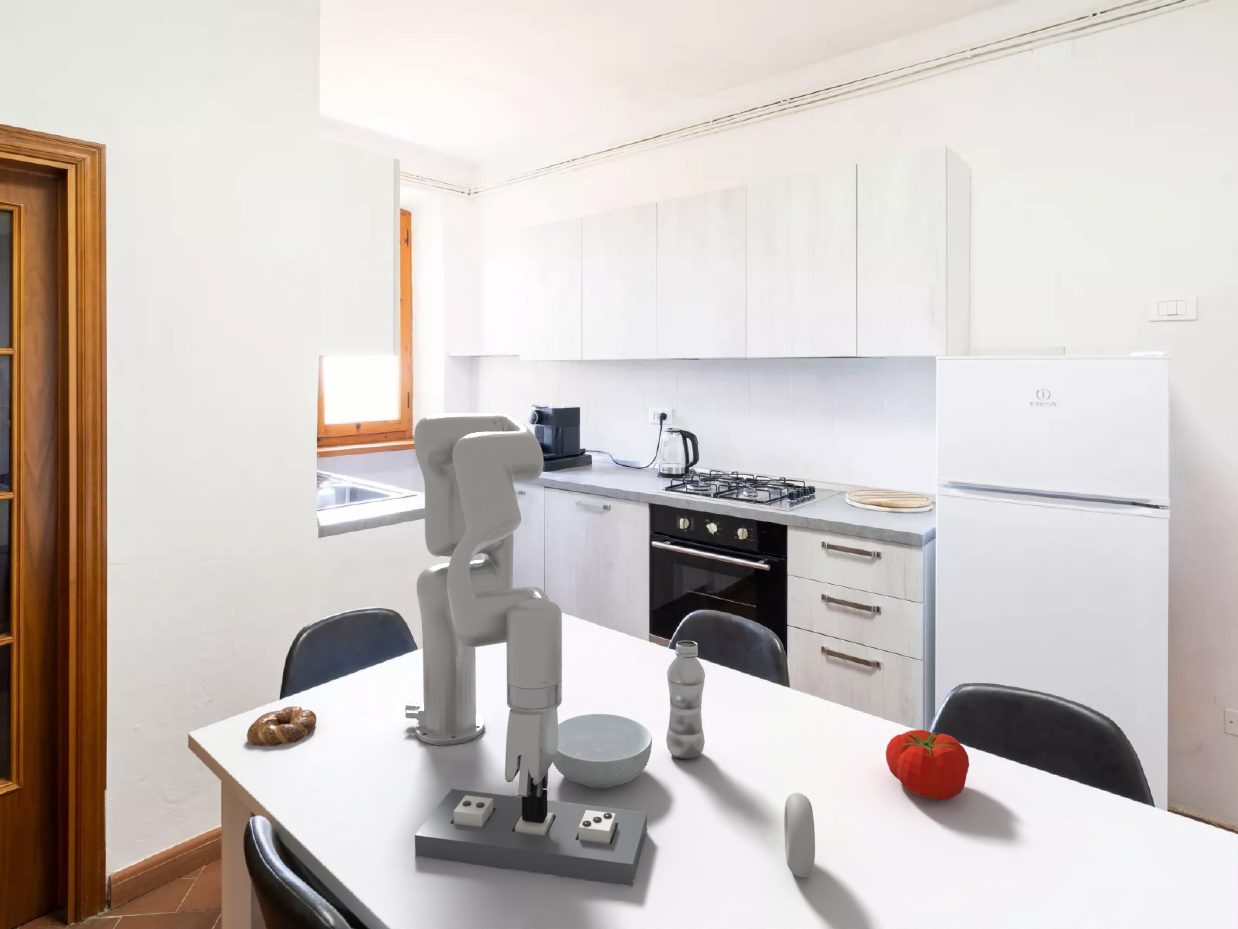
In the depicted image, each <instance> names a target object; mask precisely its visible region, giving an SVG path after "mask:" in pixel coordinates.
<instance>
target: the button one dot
mask: <svg viewBox="0 0 1238 929" xmlns="http://www.w3.org/2000/svg"><path fill="white" fill-rule="evenodd" d="M552 824H553V813H549V812H547V817H546V818H545V821H544V822H543V823H536V822H528V821H523V820H522V815H521V817H520V819H519V821H518V822H517V824H516V826H515V832H520V833H527V834H535V835H543V836H547V834H548V832H549V830H550V828H551V826H552Z"/></svg>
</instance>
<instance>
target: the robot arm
mask: <svg viewBox="0 0 1238 929" xmlns="http://www.w3.org/2000/svg"><path fill="white" fill-rule="evenodd" d="M413 434H414V435H413V443H414V444H413V445H414V446H413V447H414V451H415V456H416V459H417V462H418V464H419V468H420V471H421V473H422V474H421V475H422V476H423V481H424V537H425V545H426V549H427V550H428V552H429V554H431V555H432V556H434V557H437V558H445V559H446V558H450V560H449V562H447V563H441V564H436V565H431V566H429V567H427V568H425V569H424V570H422V571H421V573H420V574H419V575H418V578H417V580H416V596H417V602H418V607H419V613H420V621H421V633H422V674H423V675H422V680H423V682H422V687H423V688H422V689H423V703H422V704H419V703H416V702H407V703H406V705H405V708H404V709H405V714H404V716H405V719H415V720H416V721H418V722H417V723H416V724H415V730H414V732H415V736H416V737H417V739H418V740H420V741H422V742H423V743H427V744H430V745H438V746H448V745H450V746H451V745H458V744H461V743H465V742H468V741H471V740H473V739H475V738H477V737H479V736H480V735H481V734H482V733H483V732H484V729H485V718H483V716H482V715H480V714H478V713H477V690H476V689H477V687H476V686H477V683H476V679H477V677H476V675H477V674H476V671H477V670H476V666H477V665H476V660H477V659H476V658H477V657H476V648H479V647H486V646H492V645H498V644H504V643H506V705H507V706H508V708H509V714H508V720H507V727H506V728H507V729H506V739H505V740H506V741H505V742H506V744H505V762H504V764H505V768H504V779H505V781H506V783H510V782H511V783H512V782H514V780H515V778H516V776H517V775H518V790H517V795H518V796H517V797H522V820H523V821H528V822H536V823H543V822H544V821H545V818H546V817H547V800H548V789H547V788H548V783H549V781H548V780H549V770H550V768H551V765H552V764H553V760H554V759H555V756H556V754H557V748H558V724H559V720H558V719H559V717H558V707H559V706H561V704H562V703H563V702H562V701H563V671H562V670H563V614H562V610H561V607H559V606H560V605H558V604H557V603H555V602H553V601H551V600H550V598H549V596H548V595H547V594H546V593H545V591H544V590H543V589H541V588H539V587H537V586H521V587H514V586H513V585H514V532H515V531H516V530H517V529H518V528H519V526H520V525H521V524H522V523H521V522H522V515H521V510H520V506H519V503H518V498H517V495H516V490H515V484H517V483H518V484H520V483H532V482H535V481H536V480H538V479H539V478H540V476H541V475H542V473H543V470H544V455H543V454H544V453H543V450H542V447H541V444H540V442H539V440H538V438H537V437H536V436H535V433H533V431H531V430H530V429H529V428H528V427H526V425H524V424H523V423H521V422H520V420H518V419H516V417H513V416H512V415H509V414H504V413H466V412H465V413H438V414H436V413H435V414H431V415H428V416H424V417H423V418H421V419H419V421H418V422H417V423H416V425H415V428H414V432H413ZM481 555H484V559H477V560H473V558H474V557H475V556H481ZM518 773H519V774H518Z"/></svg>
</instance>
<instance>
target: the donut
mask: <svg viewBox="0 0 1238 929" xmlns="http://www.w3.org/2000/svg"><path fill="white" fill-rule="evenodd" d="M783 814H784V815H783V816H784V823H783V824H784V825H783V826H784V828H783V829H784V850H785V860H786V864H787V867H788V869H789V871H790V872H791V873H792V874H793V875H795V876H796V877H799V878H800V877H801V878H802V877H804V878H805V877H806V876H807V877H808V876H809V875H810V874H811V873H812V871H813V869H814V866H815V860H816V858H815V857H816V833H815V821H814V820H815V819H814V811H813V806H812V803H811V801H810V799H809V798H808V796H807V795H804V794H803V793H800V792H793V793H791V794H789V795H788V796H787V798H786V800H785V803H784V813H783Z"/></svg>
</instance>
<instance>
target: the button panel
mask: <svg viewBox="0 0 1238 929" xmlns="http://www.w3.org/2000/svg"><path fill="white" fill-rule="evenodd" d="M465 795H468V796H476V797H484V798H492V799H493V814H492V816H491V817H490V819H489V821H488V822H487V824H486V825H485V827H484V828H481V827H473V826H466V825H458V824H454V810H455V809H456V807H457V806H458V805H459V803H460V802H461V801H462V799H463V798H464V797H465ZM586 810H591V811H599V812H607V813H615V832H614V835H613V838H612V841H611V844H604V843H596V842H589V841H581V840H579V825H580V823H581V821H582V818H583V816H584V814H585V811H586ZM547 812H549V813H553V824H552V826H551V828H550V830H549V832H548V834H547V836H543V835H535V834H527V833H520V832H515V826H516V824H517V822H518V821H519V819H520V817H521V815H522V796H515V795H508V794H499V793H490V792H481V791H476V790H475V791H473V790H467V789H466V790H465V789H458V788H451V789H450V790H449V791H448V793H447V794H446V795H445V797H444V798H443V799H442V800H441V802H439V804H438V805H437V807H435V809H434V811H433V812H432V813H431V814H430V815H429V816H428V818H427V819H426V821H424V823H423V824H422V825H421V827H420V828H419V829H418V830H417V832H415V834H414V856H415V857H419V858H420V857H421V858H426V859H433V860H440V861H442V860H443V861H448V862H454V863H455V862H457V863H463V864H471V865H476V866H483V867H484V866H485V867H492V868H497V869H498V868H500V869H505V870H511V871H513V870H514V871H521V872H527V873H536V874H541V875H547V876H549V875H550V876H553V877H554V876H555V877H562V878H571V879H576V880H577V879H578V880H583V881H591V882H596V883H597V882H598V883H606V884H612V885H619V886H626V887H633V885H634V881H635V877H636V875H637V870H638V866H639V863H640V859H641V855H642V852H643V847H644V844H645V841H646V837H647V833H648V812H647V811H640V810H632V809H631V810H630V809H624V808H616V807H615V808H614V807H609V806H607V807H606V806H598V805H592V804H591V805H590V804H583V803H574V802H566V801H565V802H564V801H557V800H549V799H547Z"/></svg>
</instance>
